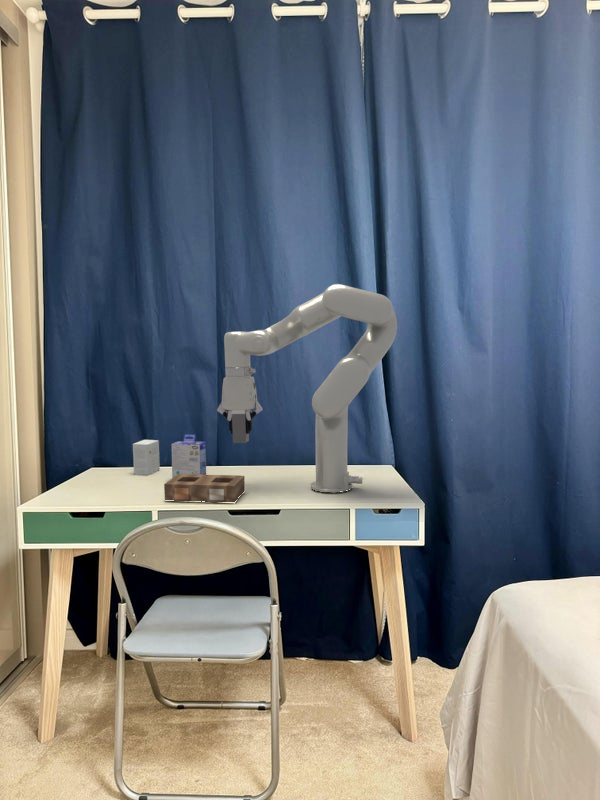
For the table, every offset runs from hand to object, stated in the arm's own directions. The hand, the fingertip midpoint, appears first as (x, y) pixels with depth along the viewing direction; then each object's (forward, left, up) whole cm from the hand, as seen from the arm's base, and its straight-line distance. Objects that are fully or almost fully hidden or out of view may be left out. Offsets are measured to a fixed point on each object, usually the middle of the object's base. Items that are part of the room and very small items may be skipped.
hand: (240, 432), depth 182 cm
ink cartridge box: (+18, -6, -17) cm, 26 cm away
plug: (0, 0, -3) cm, 3 cm away
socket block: (+7, +13, -17) cm, 22 cm away
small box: (+36, -15, -17) cm, 43 cm away
